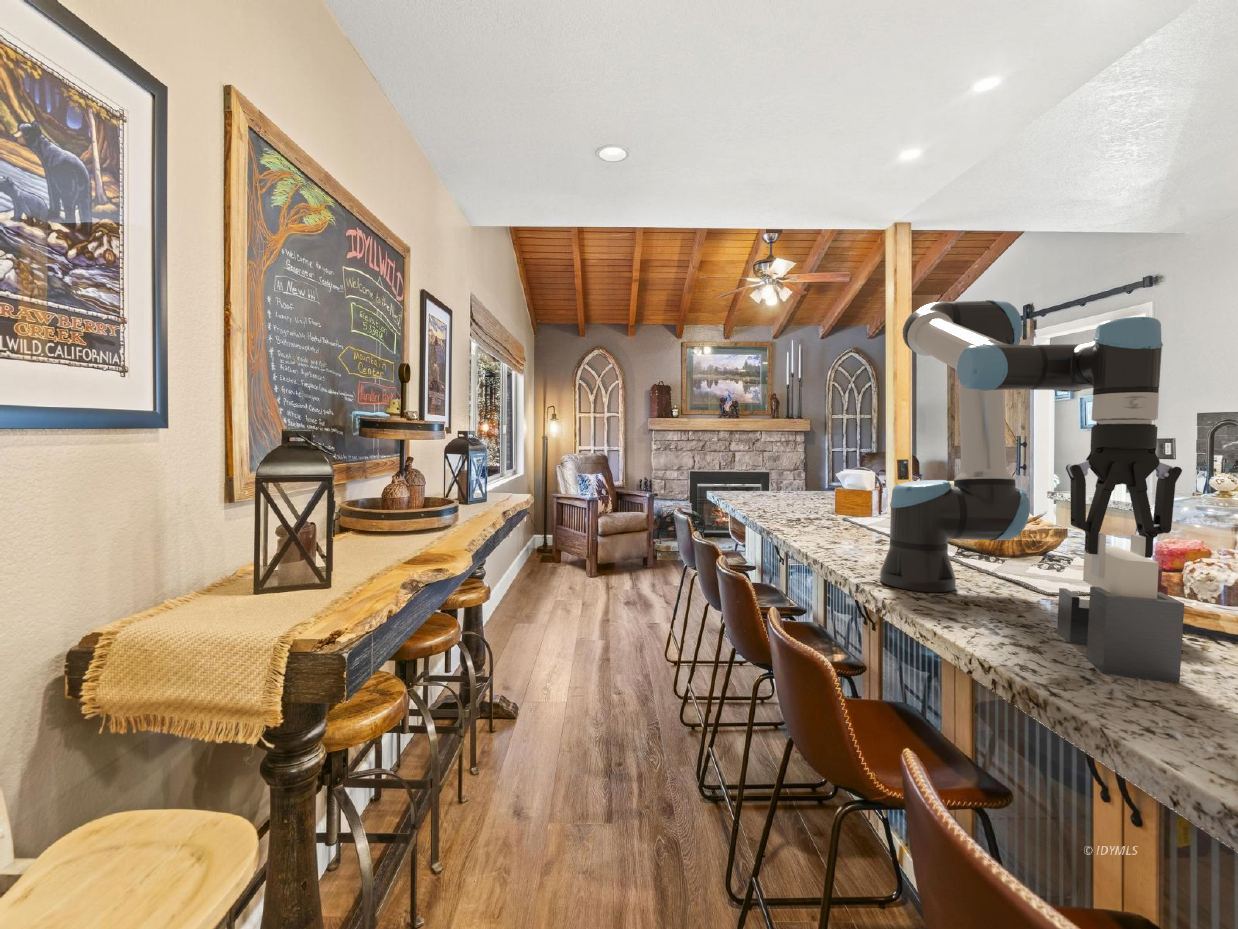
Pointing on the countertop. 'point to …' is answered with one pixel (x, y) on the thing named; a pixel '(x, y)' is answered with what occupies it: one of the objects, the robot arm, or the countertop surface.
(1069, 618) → the grey channel block
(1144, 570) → the cream rectangular block
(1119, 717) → the countertop surface
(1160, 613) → the cup bracket
